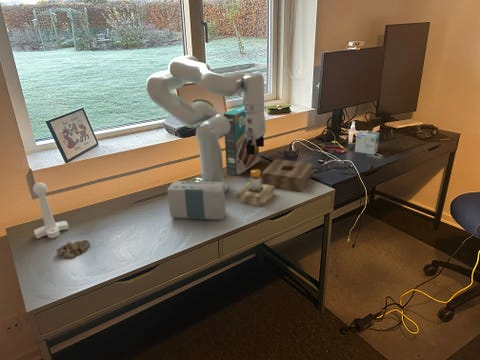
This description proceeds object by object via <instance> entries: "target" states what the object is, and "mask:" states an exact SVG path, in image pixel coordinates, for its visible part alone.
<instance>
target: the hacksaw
mask: <svg viewBox="0 0 480 360" xmlns="http://www.w3.org/2000/svg"><path fill="white" fill-rule="evenodd" d="M331 160H332V161H330V162H328V163H324V164H320V165H316V166H313V165H312V174H318V173H321V172H325V171H326V170H331V169H333V168H338V167H341V166H345V165H346V163H343V162H340V161H339V160H340V158H339V157H337V160H334V157H332V158H331ZM333 163H338V164H339V165H334V166H331V167H327V168H323V167H325V166H328V165H331V164H333ZM313 169H314V170H313ZM315 169H316V170H315Z"/></svg>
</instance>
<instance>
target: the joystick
mask: <svg viewBox="0 0 480 360" xmlns="http://www.w3.org/2000/svg"><path fill="white" fill-rule="evenodd" d="M32 191H33V193H34V194H35V195H37V197H38V200H39V205H40V209H41V214H42V219H43V223H44V225H43V226H41V227H38V228H36V229H34V230H33V232H34V236H35V238H36V239H41V238H42V237H45V236H47V238H50V239H55V238H57V237H59V235H60V234H61V233H60V232H61V231H63V230H64V231H65V230H68V229H69V228H70V227H69V224H68V221H66V220H62V221H57V222H56V221H55V219H54V215H53V213H52V210H51V209H52V208H51V207H50V204H49V201H48V198H47V195H46V192H47V191H48V187H47V184H45V183H44V182H40V181H39V182H36V183H35V184H34V185H33V186H32Z"/></svg>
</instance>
